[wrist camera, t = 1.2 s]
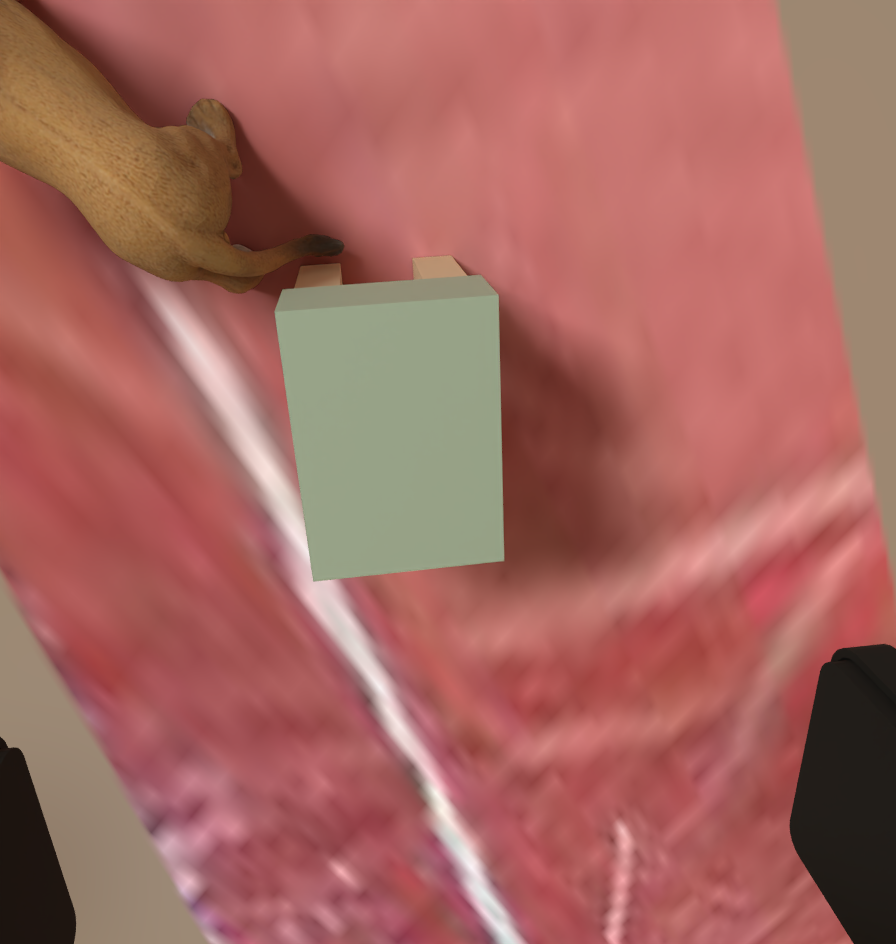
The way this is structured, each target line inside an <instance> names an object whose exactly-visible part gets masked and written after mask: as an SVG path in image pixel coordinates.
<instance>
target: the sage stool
mask: <svg viewBox="0 0 896 944" xmlns="http://www.w3.org/2000/svg"><path fill="white" fill-rule="evenodd" d="M412 261H413V276H414V280H403V281H389V282H376V283H362V284H349V285H343V284H342V274H341V265H340V263H336V264H322V265H307V266H300V270H299V273H298V277H297V280H296V284H295V287H294V289H282V292H281V295H280V298H279V301H278V303H277V306H276V309H275V319H276V326H277V333H278V340H279V347H280V354H281V361H282V368H283V375H284V381H285V388H286V395H287V402H288V409H289V416H290V423H291V430H292V437H293V444H294V451H295V458H296V465H297V472H298V479H299V486H300V493H301V500H302V506H303V513H304V520H305V527H306V534H307V541H308V548H309V555H310V562H311V569H312V576H313V582H314V581H323V580H332V579H341V578H351V577H360V576H369V575H378V574H388V573H397V572H406V571H416V570H425V569H434V568H443V567H453V566H462V565H471V564H481V563H490V562H499V561H504V527H503V480H502V433H501V387H500V340H499V295H498V294H497V293H496V291H495V290H494V289H493V288H492V287H491V286H490V285H489V284H488V282H487V281H486V280H485V279H484V278H483V277H482V276H481V275H471V276H467V275H466V274H465V272H464V271H463V270H462V269H461V267H460V266H459V265H458V263H457V262H456V261H455V260H454V258H453V257H452V256H451V255H449V256H435V257H420V258H412Z"/></svg>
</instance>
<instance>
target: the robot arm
mask: <svg viewBox="0 0 896 944" xmlns="http://www.w3.org/2000/svg"><path fill="white" fill-rule="evenodd" d="M790 834H791V838H792V842H793V845H794V847H795V850H796V852H797V854H798V855H799V857H800V859H801V860H802V862H803V864H804V865H805V867H806V868H807V870H808V871H809V873H810V875H811V876H812V878H813V879H814V881H815V883H816V884H817V886H818V887H819V889H820V891H821V892H822V894H823V895H824V897H825V899H826V900H827V902H828V903H829V905H830V907H831V908H832V910H833V911H834V913H835V915H836V916H837V918H838V919H839V921H840V923H841V924H842V926H843V927H844V929H845V931H846V932H847V934H848V935H849V937H850V939H851V940H852V942H853V943H854V944H896V649H895V648H894V647H892V646H890V645H886V644H879V645H870V646H860V647H850V648H842V649H839V650H837V651H836V652H835V653H834V654H833V656H832V659H831V662H828V663H825V664H824V665H823V666H822V668H821V671H820V675H819V680H818V685H817V689H816V694H815V699H814V704H813V709H812V714H811V719H810V724H809V729H808V734H807V739H806V744H805V749H804V754H803V759H802V764H801V769H800V773H799V778H798V783H797V788H796V793H795V798H794V803H793V808H792V813H791V818H790ZM75 932H76V916H75V911H74V907H73V904H72V901H71V898H70V896H69V892H68V889H67V886H66V883H65V880H64V877H63V874H62V871H61V868H60V865H59V862H58V859H57V855H56V852H55V849H54V846H53V843H52V840H51V837H50V834H49V831H48V828H47V825H46V822H45V819H44V816H43V813H42V810H41V807H40V803H39V800H38V797H37V795H36V792H35V788H34V785H33V782H32V779H31V776H30V773H29V770H28V767H27V764H26V761H25V758H24V755H23V753H22V751H21V750H20V749H19V748H8V746H7V744H6V742H5V741H4V740H3V739H2V738H1V737H0V944H74V939H75Z"/></svg>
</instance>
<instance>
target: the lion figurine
mask: <svg viewBox="0 0 896 944" xmlns="http://www.w3.org/2000/svg"><path fill="white" fill-rule="evenodd" d="M186 123H187V125H182V126H179V127H177V126H166V127H162V128H155V127H152V126H149V125H148V124H146V123H144V122H143V121H142V120H141V119H140V118H139V117H138V116H137V115H136V114H135V113H134V112H133V111H132V110H131V109H130V108H129V106H128V105H127V104H126V103H125V102H124V100H123V99H122V98H121V97H120V95H119V94H118V93H117V92H116V90H115V89H114V88H113V87H112V85H111V84H110V83H109V82H108V81H107V79H106V78H105V77H104V76H103V75H102V74H101V72H100V71H99V70H98V69H97V68H96V67H95V66H94V65H93V64H92V63H91V62H90V61H89V60H88V59H86V58H85V57H84V56H83V55H82V54H81V53H79V52H78V51H77V50H76V49H74V48H73V47H72V46H70V45H69V44H68V43H66V42H65V41H64V40H62V39H61V38H60V37H59V36H58V35H57V34H56V33H55V32H54V31H53V30H52V29H51V28H50V27H49V26H47V25H46V24H45V23H44V22H43V21H41V20H40V19H39V18H38V17H37V16H36V15H34V14H33V13H32V12H31V11H29V10H28V9H27V8H25V7H24V6H23V5H22V4H20V3H19V2H17V1H16V0H0V161H2V162H3V163H5V164H7V165H9V166H11V167H13V168H15V169H17V170H19V171H21V172H24V173H26V174H28V175H30V176H32V177H34V178H36V179H38V180H40V181H42V182H45V183H47V184H49V185H51V186H53V187H54V188H56V189H57V190H59V191H60V192H62V193H63V194H64V195H66V196H67V197H68V198H69V199H70V200H71V201H72V202H73V203H74V204H75V205H76V207H77V208H78V209H79V210H80V211H81V213H82V214H83V215H84V217H85V218H86V219H87V221H88V222H89V223H90V225H91V226H92V227H93V228H94V230H95V231H96V232H97V234H98V235H99V236H100V238H101V239H102V240H103V242H104V243H105V244H106V245H107V246H108V247H109V248H110V249H111V251H112V252H113V253H115V254H116V255H117V256H119V257H120V258H122V259H123V260H125V261H127V262H129V263H131V264H133V265H135V266H137V267H139V268H141V269H143V270H145V271H147V272H149V273H151V274H153V275H155V276H157V277H160V278H162V279H165V280H169V281H176V282H183V281H188V280H206V281H210V282H212V283H215V284H217V285H219V286H221V287H223V288H224V289H226V290H227V291H229V292H233V293H238V294H239V293H245V292H247V291H248V290H250V289H252V288H254V287H255V286H257V285H258V284H259V283H260V281H261V280H262V279H263V277H264V274H266V273H269V272H272V271H274V270H276V269H278V268H279V267H281V266H282V265H284V264H286V263H288V262H290V261H292V260H295V259H297V258H300V257H303V256H307V255H313V256H316V257H320V256H335V255H338V254H340V253H342V251H343V249H344V243H343V242H341V241H339V240H336V239H332V238H330V237H328V236H325V235H317V234H310V235H307V236H304V237H301V238H297V239H293V240H291V241H289V242H287V243H285V244H282V245H279V246H277V247H274V248H271V249H265V250H261V251H251V250H250V249H248V248H246V247H244V246H242V245H239V244H234V245H232V246H231V245H230V240H229V237H228V235H227V234H226V233H225V231H224V229H225V227H226V226H227V224H228V221H229V217H230V214H231V208H232V195H231V185H230V178H231V179H236V178H238V177H239V176H240V175H241V174H242V164H241V161H240V158H239V155H238V151H237V148H236V136H235V129H234V126H233V122H232V120H231V118H230V116H229V113H228V111H227V110H226V109H225V108H224V106H223V105H222V104H221V103H220V102H218V101H217V100H214V99H200V100H199V101H198V102H197V103H196V104H195V105H194V106H193V107H192V109H191V110H190V112H189V114H188V116H187V120H186Z"/></svg>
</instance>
